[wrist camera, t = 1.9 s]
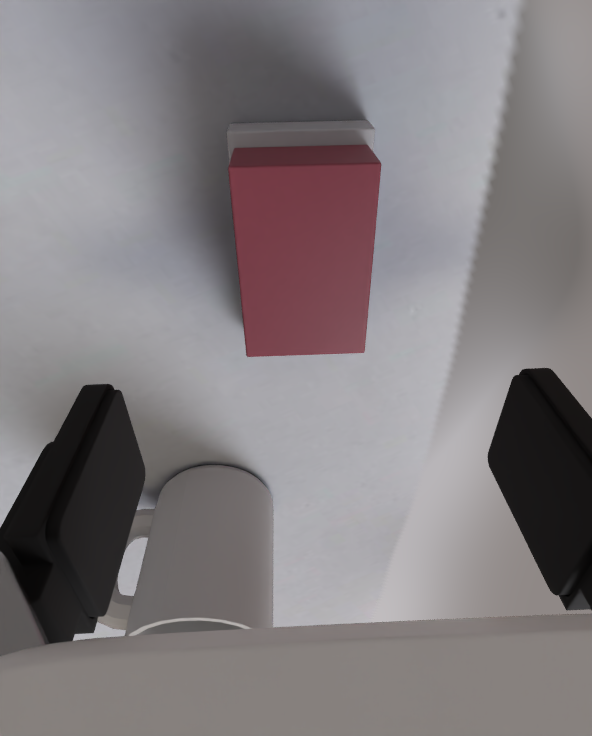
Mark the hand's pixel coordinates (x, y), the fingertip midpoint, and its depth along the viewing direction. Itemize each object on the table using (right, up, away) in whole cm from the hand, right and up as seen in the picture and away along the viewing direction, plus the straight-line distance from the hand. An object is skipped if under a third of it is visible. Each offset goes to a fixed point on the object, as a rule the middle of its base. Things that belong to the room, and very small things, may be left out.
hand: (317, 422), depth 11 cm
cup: (-7, -7, +18) cm, 21 cm away
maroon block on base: (0, +7, +8) cm, 10 cm away
